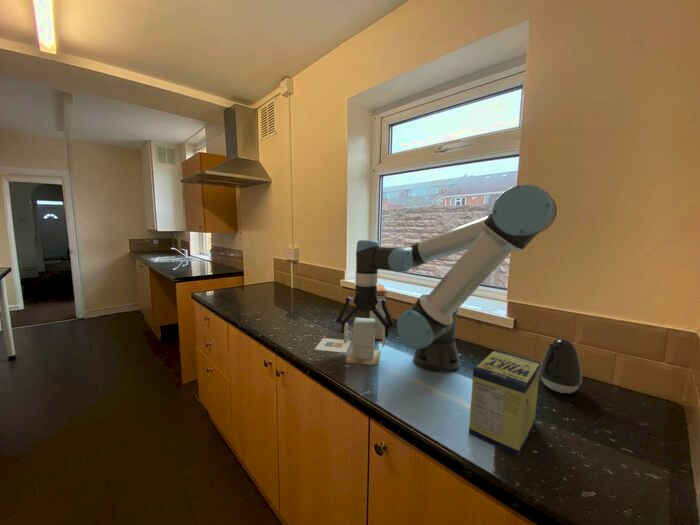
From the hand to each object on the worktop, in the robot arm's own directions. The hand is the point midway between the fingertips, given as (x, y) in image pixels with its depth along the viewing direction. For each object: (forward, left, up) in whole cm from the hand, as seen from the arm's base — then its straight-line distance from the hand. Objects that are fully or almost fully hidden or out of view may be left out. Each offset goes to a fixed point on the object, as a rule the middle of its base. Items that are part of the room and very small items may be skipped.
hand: (364, 343), depth 106 cm
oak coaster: (0, 0, -5) cm, 5 cm away
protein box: (-37, +31, -5) cm, 49 cm away
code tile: (+13, -8, -5) cm, 16 cm away
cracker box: (-2, -25, -5) cm, 26 cm away
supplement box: (0, 0, -4) cm, 4 cm away
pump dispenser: (-59, +8, -5) cm, 60 cm away
